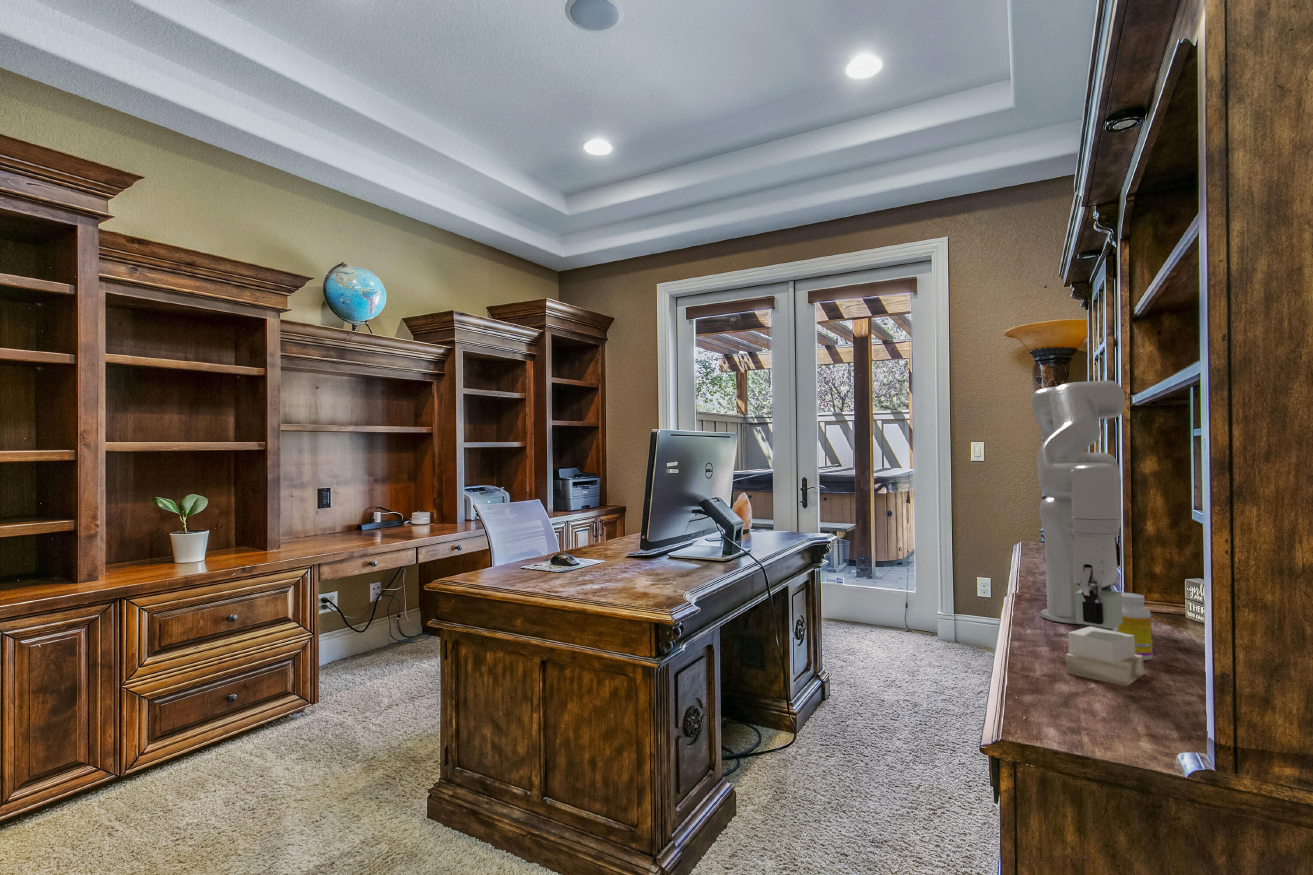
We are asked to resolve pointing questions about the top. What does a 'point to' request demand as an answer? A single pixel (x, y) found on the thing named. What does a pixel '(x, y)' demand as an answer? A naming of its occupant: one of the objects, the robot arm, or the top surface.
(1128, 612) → the supplement bottle
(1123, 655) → the tower top block
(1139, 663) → the tower base block
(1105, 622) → the stack block
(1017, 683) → the top surface
